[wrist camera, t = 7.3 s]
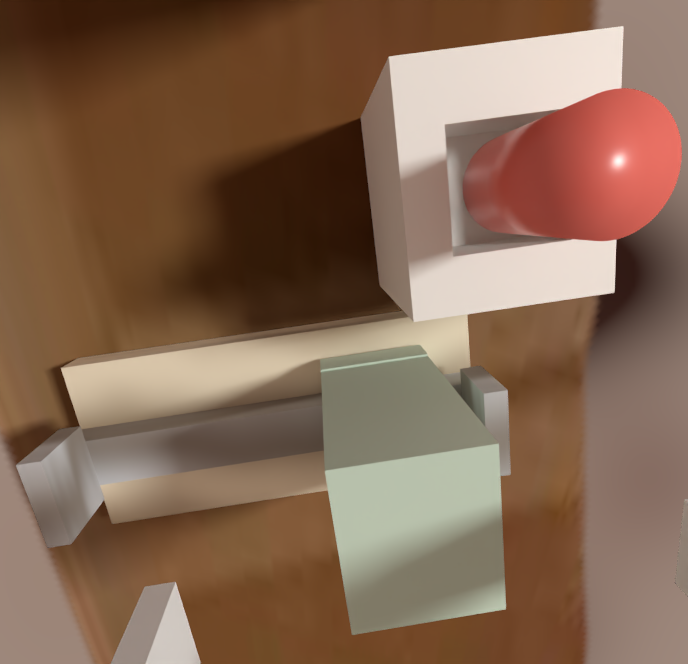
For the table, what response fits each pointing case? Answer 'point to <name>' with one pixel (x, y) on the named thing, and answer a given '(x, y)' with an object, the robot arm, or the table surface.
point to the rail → (234, 385)
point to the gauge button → (578, 170)
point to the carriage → (410, 492)
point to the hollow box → (450, 165)
